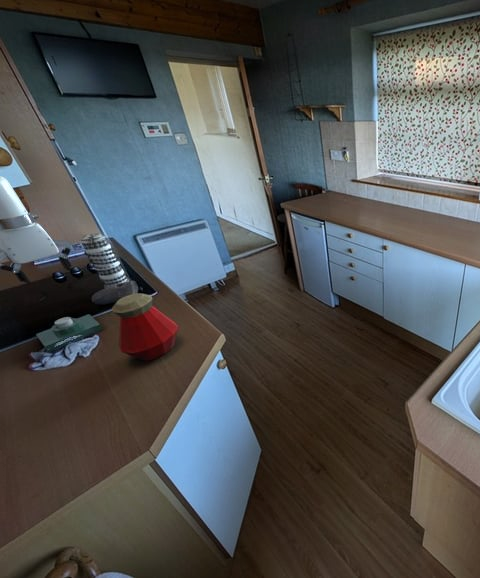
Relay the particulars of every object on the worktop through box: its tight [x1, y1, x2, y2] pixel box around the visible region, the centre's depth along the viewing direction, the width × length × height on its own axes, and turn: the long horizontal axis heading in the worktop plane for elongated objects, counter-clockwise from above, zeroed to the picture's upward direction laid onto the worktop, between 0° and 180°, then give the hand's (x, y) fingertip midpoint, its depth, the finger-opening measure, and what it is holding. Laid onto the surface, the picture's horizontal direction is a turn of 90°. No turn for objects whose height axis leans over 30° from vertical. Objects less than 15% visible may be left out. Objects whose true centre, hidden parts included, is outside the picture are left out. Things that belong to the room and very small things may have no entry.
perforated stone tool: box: [91, 280, 139, 306], centre depth 119 cm, size 15×5×7 cm, turn 128°
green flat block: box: [35, 314, 104, 353], centre depth 100 cm, size 14×11×4 cm
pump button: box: [54, 316, 74, 329], centre depth 99 cm, size 4×4×2 cm
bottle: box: [111, 292, 179, 362], centre depth 89 cm, size 16×14×20 cm
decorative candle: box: [79, 233, 130, 289], centre depth 122 cm, size 9×9×25 cm
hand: (48, 275), depth 91 cm, fingers open, 9 cm apart
